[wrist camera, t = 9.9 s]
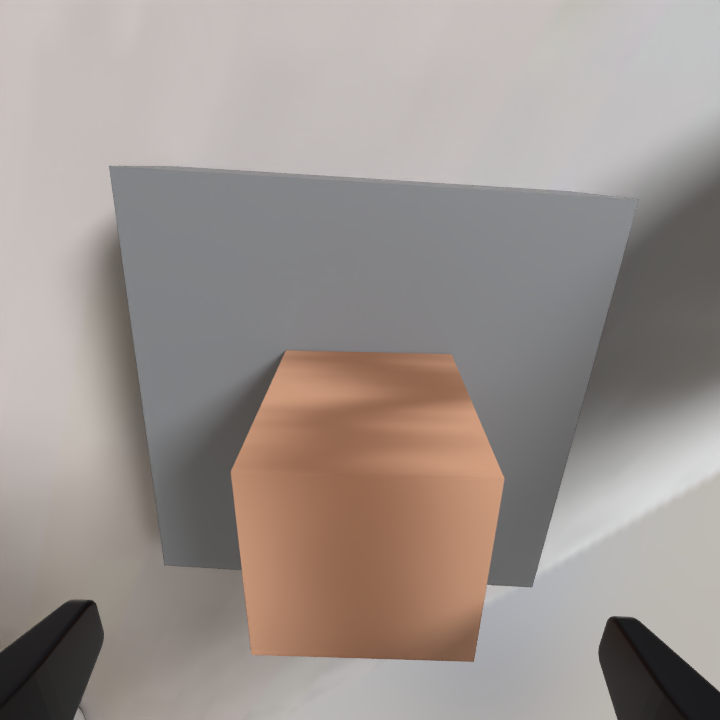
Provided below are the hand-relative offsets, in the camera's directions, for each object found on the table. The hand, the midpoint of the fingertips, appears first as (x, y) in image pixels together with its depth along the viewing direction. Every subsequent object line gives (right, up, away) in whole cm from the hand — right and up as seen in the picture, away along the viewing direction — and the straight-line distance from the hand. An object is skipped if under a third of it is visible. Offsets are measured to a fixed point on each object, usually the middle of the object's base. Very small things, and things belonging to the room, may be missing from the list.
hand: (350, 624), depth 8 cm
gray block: (0, +5, +11) cm, 12 cm away
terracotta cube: (0, +3, +7) cm, 7 cm away
